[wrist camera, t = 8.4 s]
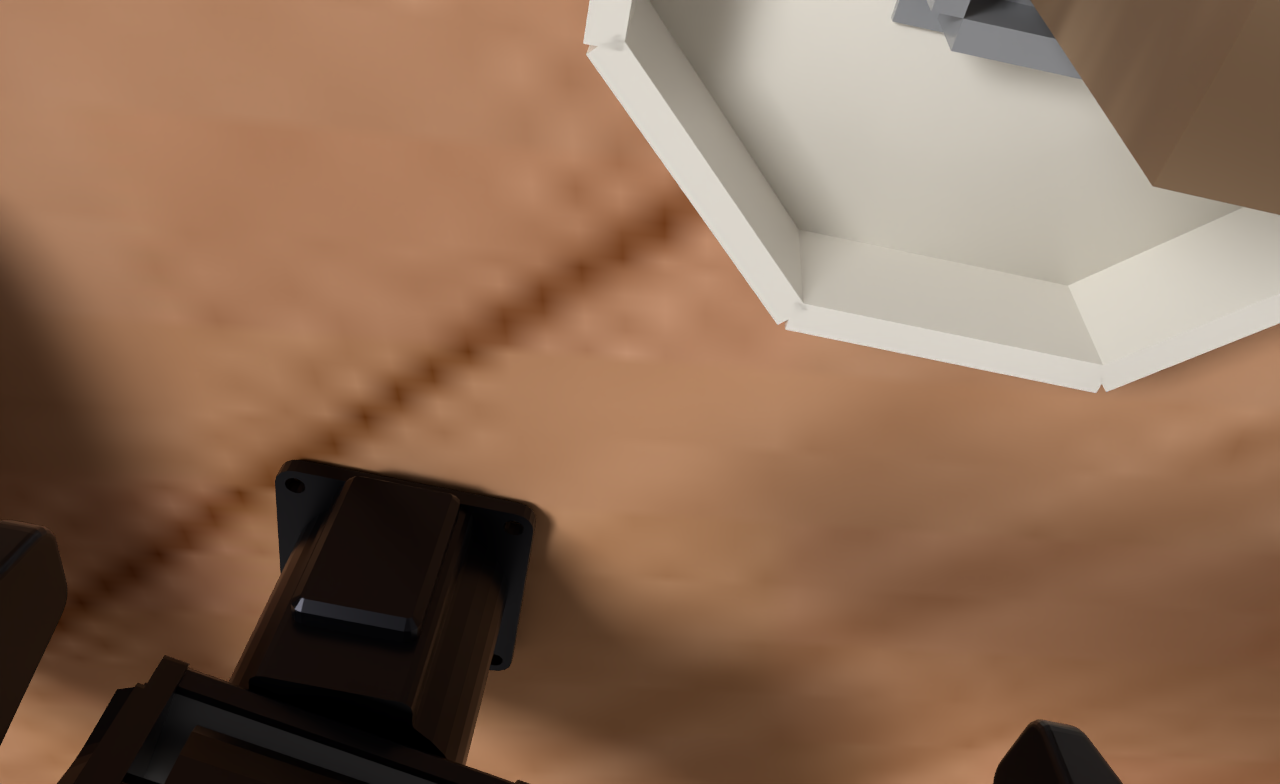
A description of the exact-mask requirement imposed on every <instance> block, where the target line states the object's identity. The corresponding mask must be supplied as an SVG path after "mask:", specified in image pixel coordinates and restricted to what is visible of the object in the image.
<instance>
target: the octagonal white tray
mask: <svg viewBox="0 0 1280 784" xmlns="http://www.w3.org/2000/svg"><path fill="white" fill-rule="evenodd" d="M583 43H584V44H588V45H589V48H588V51H587V53H586V55H587V56H588V58H589V59H590V61H591V62H592V64H593V65H594V66H595V68H596V69H597V71H598V72H599V73H600V75H601V76H602V78H603V79H604V80H605V82H606V83H607V85H608V86H609V88H610V89H611V90H612V92H613V93H614V95H615V96H616V97H617V99H618V100H619V102H620V103H621V104H622V106H623V107H624V109H625V110H626V112H627V113H628V114H629V116H630V117H631V119H632V120H633V121H634V123H635V124H636V126H637V127H638V128H639V130H640V131H641V133H642V134H643V136H644V137H645V138H646V140H647V141H648V143H649V144H650V145H651V147H652V148H653V150H654V151H655V152H656V154H657V155H658V157H659V158H660V159H661V161H662V162H663V164H664V165H665V167H666V168H667V169H668V171H669V172H670V174H671V175H672V176H673V178H674V179H675V181H676V182H677V183H678V185H679V186H680V188H681V189H682V191H683V192H684V193H685V195H686V196H687V198H688V199H689V200H690V202H691V203H692V205H693V206H694V207H695V209H696V210H697V212H698V213H699V215H700V216H701V217H702V219H703V220H704V222H705V223H706V224H707V226H708V227H709V229H710V230H711V231H712V233H713V234H714V236H715V237H716V239H717V240H718V241H719V243H720V244H721V246H722V247H723V248H724V250H725V251H726V253H727V254H728V255H729V257H730V258H731V260H732V261H733V263H734V264H735V265H736V267H737V268H738V270H739V271H740V272H741V274H742V275H743V277H744V278H745V279H746V281H747V282H748V284H749V285H750V286H751V288H752V289H753V291H754V292H755V294H756V295H757V296H758V298H759V299H760V301H761V302H762V303H763V305H764V306H765V308H766V309H767V310H768V312H769V313H770V315H771V316H772V318H773V319H774V320H775V322H776V323H777V325H778V324H780V323H782V322H784V321H785V330H790V331H795V332H800V333H805V334H810V335H815V336H819V337H824V338H829V339H834V340H839V341H844V342H849V343H854V344H859V345H863V346H868V347H873V348H878V349H883V350H888V351H893V352H898V353H903V354H907V355H912V356H917V357H922V358H927V359H932V360H937V361H942V362H946V363H951V364H956V365H961V366H966V367H971V368H976V369H981V370H986V371H990V372H995V373H1000V374H1005V375H1010V376H1015V377H1020V378H1025V379H1030V380H1034V381H1039V382H1044V383H1049V384H1054V385H1059V386H1064V387H1069V388H1073V389H1078V390H1083V391H1088V392H1093V393H1097V391H1098V389H1099V388H1100V386H1101V384H1102V385H1103V387H1104V389H1105V391H1106V392H1108V391H1110V390H1113V389H1115V388H1118V387H1120V386H1123V385H1125V384H1128V383H1130V382H1133V381H1135V380H1138V379H1140V378H1143V377H1146V376H1148V375H1151V374H1153V373H1156V372H1158V371H1161V370H1163V369H1166V368H1168V367H1171V366H1173V365H1176V364H1178V363H1181V362H1183V361H1186V360H1188V359H1191V358H1193V357H1196V356H1198V355H1201V354H1203V353H1206V352H1208V351H1211V350H1214V349H1216V348H1219V347H1221V346H1224V345H1226V344H1229V343H1231V342H1234V341H1236V340H1239V339H1241V338H1244V337H1246V336H1249V335H1251V334H1254V333H1256V332H1259V331H1261V330H1264V329H1266V328H1269V327H1271V326H1274V325H1277V324H1279V323H1280V215H1277V214H1273V213H1268V212H1264V211H1259V210H1255V209H1251V208H1246V207H1242V206H1237V205H1233V204H1228V203H1224V202H1220V201H1215V200H1211V199H1206V198H1202V197H1197V196H1193V195H1188V194H1184V193H1180V192H1175V191H1171V190H1166V189H1162V188H1157V187H1153V186H1152V185H1151V183H1150V182H1149V180H1148V179H1147V177H1146V175H1145V174H1144V172H1143V171H1142V169H1141V168H1140V166H1139V165H1138V163H1137V162H1136V160H1135V159H1134V157H1133V156H1132V154H1131V153H1130V151H1129V150H1128V148H1127V147H1126V145H1125V144H1124V142H1123V141H1122V139H1121V137H1120V136H1119V134H1118V133H1117V131H1116V130H1115V128H1114V127H1113V125H1112V124H1111V122H1110V121H1109V119H1108V118H1107V116H1106V115H1105V113H1104V112H1103V110H1102V109H1101V107H1100V106H1099V104H1098V103H1097V101H1096V99H1095V98H1094V96H1093V95H1092V93H1091V92H1090V90H1089V89H1088V87H1087V86H1086V84H1085V83H1084V81H1083V80H1082V78H1081V77H1080V75H1079V74H1078V72H1077V71H1076V69H1075V68H1074V66H1073V65H1072V63H1071V61H1070V60H1069V58H1068V57H1067V55H1066V54H1065V52H1064V51H1063V49H1062V48H1061V46H1060V45H1059V43H1058V42H1057V40H1056V39H1055V37H1054V36H1053V34H1052V33H1051V31H1050V30H1049V28H1048V27H1047V25H1046V23H1045V22H1044V20H1043V19H1042V17H1041V16H1040V14H1039V13H1038V11H1037V10H1036V8H1035V7H1034V5H1033V4H1032V2H1031V1H1030V0H590V2H589V9H588V15H587V22H586V29H585V35H584V42H583Z"/></svg>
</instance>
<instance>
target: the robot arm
mask: <svg viewBox="0 0 1280 784" xmlns="http://www.w3.org/2000/svg"><path fill="white" fill-rule="evenodd" d="M294 478H296V479H298V480H300V481H302V482H300V481H297V480H295V479H294ZM275 488H276V505H277V521H278V538H279V554H280V571H281V575H280V577H279V579H278V581H277V583H276V585H275V587H274V589H273V592H272V594H271V596H270V598H269V600H268V602H267V604H266V606H265V608H264V610H263V612H262V614H261V616H260V618H259V620H258V623H257V625H256V627H255V629H254V631H253V633H252V635H251V637H250V639H249V641H248V643H247V645H246V647H245V649H244V651H243V654H242V656H241V658H240V660H239V662H238V664H237V666H236V668H235V670H234V672H233V674H232V676H231V678H230V680H229V682H227V681H224V680H221V679H218V678H215V677H213V676H210V675H207V674H204V673H201V672H198V671H196V670H193V669H190V668H189V665H190V664H189V663H186V662H183V661H181V660H178V659H175V658H172V657H169V656H166V655H165V656H164V657H163V659H162V660H161V662H160V664H159V665H158V667H157V668H156V670H155V672H154V673H153V675H152V676H151V678H150V680H149V681H148V683H145V684H144V685H143V684H140V683H137V685H136V686H135V687H132V688H125V689H117V691H116V692H115V694H114V696H113V697H112V699H111V701H110V703H109V704H108V706H107V708H106V710H105V711H104V713H103V715H102V716H101V718H100V720H99V722H98V723H97V725H96V727H95V728H94V730H93V732H92V734H91V735H90V737H89V738H88V740H87V742H86V743H85V745H84V747H83V748H82V750H81V751H80V753H79V754H78V756H77V758H76V759H75V760H74V762H73V763H72V765H71V766H70V767H69V769H68V770H67V771H66V773H65V774H64V775H63V777H62V778H61V779H60V780H59V782H58V783H57V784H529V783H526V782H523V781H521V780H517V781H516V782H515V783H514V782H511V781H508V780H505V779H502V778H499V777H497V776H494V775H491V774H488V773H485V772H482V771H480V770H477V769H474V768H471V767H468V766H465V765H466V761H467V757H468V753H469V749H470V745H471V741H472V737H473V733H474V729H475V725H476V721H477V717H478V713H479V709H480V705H481V701H482V697H483V693H484V689H485V685H486V681H487V677H488V673H489V670H496V671H500V670H505V669H507V668H508V667H509V666H510V664H511V662H512V657H513V653H514V648H515V642H516V636H517V630H518V624H519V618H520V612H521V606H522V601H523V595H524V589H525V583H526V577H527V571H528V565H529V559H530V553H531V548H532V542H533V536H534V530H535V524H536V515H535V513H534V512H533V510H532V509H530V508H529V507H528V506H526V505H523V504H520V503H516V502H511V501H506V500H501V499H496V498H491V497H486V496H480V495H475V494H470V493H465V492H460V491H455V490H450V489H445V488H440V487H434V486H429V485H424V484H419V483H414V482H409V481H404V480H399V479H393V478H388V477H383V476H378V475H373V474H368V473H363V472H358V471H352V470H347V469H342V468H337V467H332V466H327V465H322V464H317V463H312V462H306V461H301V460H291V461H287V462H286V463H285V464H283V465H282V467H281V469H280V471H279V473H278V474H277V476H276V480H275ZM510 521H516V522H519V523H520V524H515V523H513V522H510ZM66 599H67V582H66V578H65V574H64V570H63V566H62V562H61V558H60V554H59V550H58V546H57V542H56V538H55V535H54V533H53V532H52V531H51V530H50V529H49V528H47V527H44V526H40V525H35V524H30V523H24V522H19V521H14V520H2V521H0V745H1V743H2V741H3V739H4V737H5V734H6V732H7V730H8V728H9V726H10V724H11V722H12V720H13V717H14V715H15V713H16V711H17V709H18V707H19V705H20V702H21V700H22V698H23V696H24V694H25V692H26V690H27V688H28V685H29V683H30V681H31V679H32V677H33V675H34V673H35V671H36V668H37V666H38V664H39V662H40V660H41V658H42V656H43V653H44V651H45V649H46V647H47V645H48V643H49V641H50V639H51V636H52V634H53V632H54V630H55V628H56V626H57V624H58V621H59V619H60V617H61V615H62V613H63V610H64V607H65V604H66ZM993 784H1123V783H1122V782H1121V780H1120V779H1119V778H1118V776H1117V775H1116V774H1115V773H1114V771H1113V770H1112V769H1111V767H1110V766H1109V765H1108V763H1107V762H1106V761H1105V759H1104V758H1103V757H1102V755H1101V754H1100V753H1099V751H1098V750H1097V749H1096V747H1095V746H1094V745H1093V743H1092V742H1091V741H1090V739H1089V738H1088V737H1087V736H1086V735H1085V734H1084V733H1083V732H1082V731H1081V730H1080V729H1078V728H1077V727H1074V726H1071V725H1067V724H1062V723H1057V722H1052V721H1046V720H1035V721H1033V722H1031V723H1030V724H1029V725H1028V726H1027V727H1026V728H1025V730H1024V731H1023V732H1022V734H1021V735H1020V736H1019V738H1018V739H1017V740H1016V742H1015V743H1014V744H1013V746H1012V747H1011V748H1010V750H1009V751H1008V752H1007V754H1006V755H1005V756H1004V758H1003V759H1002V760H1001V762H1000V763H999V765H998V767H997V770H996V772H995V776H994V782H993Z"/></svg>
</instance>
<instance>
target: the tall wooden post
mask: <svg viewBox="0 0 1280 784" xmlns="http://www.w3.org/2000/svg"><path fill="white" fill-rule="evenodd" d="M1030 1H1031V2H1032V4H1033V5H1034V7H1035V8H1036V10H1037V11H1038V13H1039V14H1040V16H1041V17H1042V19H1043V20H1044V22H1045V23H1046V25H1047V27H1048V28H1049V30H1050V31H1051V33H1052V34H1053V36H1054V37H1055V39H1056V40H1057V42H1058V43H1059V45H1060V46H1061V48H1062V49H1063V51H1064V52H1065V54H1066V55H1067V57H1068V58H1069V60H1070V61H1071V63H1072V65H1073V66H1074V68H1075V69H1076V71H1077V72H1078V74H1079V75H1080V77H1081V78H1082V80H1083V81H1084V83H1085V84H1086V86H1087V87H1088V89H1089V90H1090V92H1091V93H1092V95H1093V96H1094V98H1095V99H1096V101H1097V103H1098V104H1099V106H1100V107H1101V109H1102V110H1103V112H1104V113H1105V115H1106V116H1107V118H1108V119H1109V121H1110V122H1111V124H1112V125H1113V127H1114V128H1115V130H1116V131H1117V133H1118V134H1119V136H1120V137H1121V139H1122V141H1123V142H1124V144H1125V145H1126V147H1127V148H1128V150H1129V151H1130V153H1131V154H1132V156H1133V157H1134V159H1135V160H1136V162H1137V163H1138V165H1139V166H1140V168H1141V169H1142V171H1143V172H1144V174H1145V175H1146V177H1147V179H1148V180H1149V182H1150V183H1151V185H1152V186H1153V187H1157V188H1162V189H1166V190H1171V191H1175V192H1180V193H1184V194H1188V195H1193V196H1197V197H1202V198H1206V199H1211V200H1215V201H1220V202H1224V203H1228V204H1233V205H1237V206H1242V207H1246V208H1251V209H1255V210H1259V211H1264V212H1268V213H1273V214H1277V215H1280V0H1030Z"/></svg>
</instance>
